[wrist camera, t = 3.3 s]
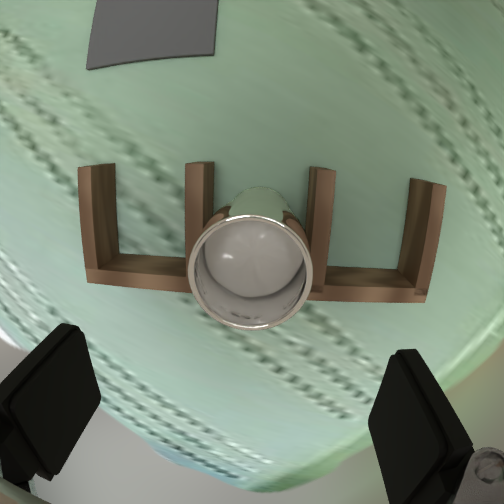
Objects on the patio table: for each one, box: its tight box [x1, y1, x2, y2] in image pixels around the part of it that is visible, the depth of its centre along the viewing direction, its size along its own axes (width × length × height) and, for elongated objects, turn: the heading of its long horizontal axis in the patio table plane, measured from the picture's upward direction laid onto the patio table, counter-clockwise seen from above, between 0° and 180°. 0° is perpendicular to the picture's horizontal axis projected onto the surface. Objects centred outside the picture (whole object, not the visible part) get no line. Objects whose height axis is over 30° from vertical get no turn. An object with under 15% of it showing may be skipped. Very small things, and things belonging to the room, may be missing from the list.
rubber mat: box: [86, 0, 218, 70], centre depth 24 cm, size 14×14×1 cm
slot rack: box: [78, 162, 447, 303], centre depth 28 cm, size 33×11×5 cm, turn 88°
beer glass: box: [188, 187, 313, 331], centre depth 24 cm, size 7×7×15 cm
